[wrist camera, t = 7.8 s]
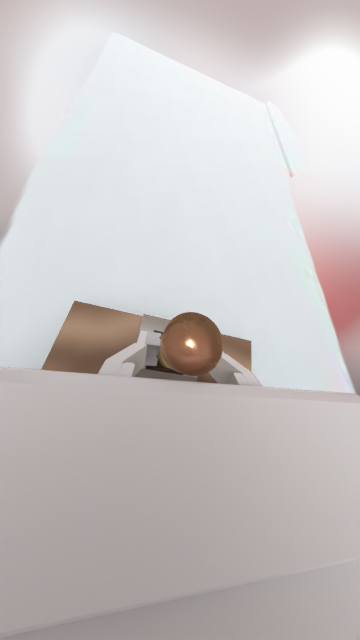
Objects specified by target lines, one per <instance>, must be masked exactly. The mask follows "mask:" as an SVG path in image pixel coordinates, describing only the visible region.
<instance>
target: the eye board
mask: <svg viewBox="0 0 360 640" xmlns="http://www.w3.org/2000/svg"><path fill="white" fill-rule="evenodd" d="M170 321H171V320H167V319H162V318H158V317H154V316H149V315H145V314H144V316H139V315H135V314H131V313H126V312H122V311H117V310H113V309H109V308H104V307H100V306H96V305H91V304H87V303H82V302H78V301H74V303H73V305H72V307H71V309H70V311H69V313H68V316H67V318H66V320H65V322H64V324H63V326H62V328H61V330H60V332H59V334H58V336H57V338H56V340H55V342H54V345H53V347H52V349H51V351H50V353H49V355H48V357H47V359H46V361H45V363H44V365H43V367H42V369H41V370H49V371H62V372H76V373H89V374H98V373H99V371H100V369H101V367H102V366H103V364H104V362H105V360H106V359H108V358H110V357H111V356H113V355H115V354H117V353H118V352H120V351H122V350H123V349H125V348H127V347H129V346H130V345H132V344H134V343H137V341H138V338H139V335H140V332H141V330H143V331H150V332H156V333H161V338H162V335H163V332H164V330H165V328H166V326H167V325H168V323H169V322H170ZM221 336H222V340H223V352H224V354H227V355H229V356H230V357H231V358H233V359H234V360H236V361H237V362H238V363H240V364H241V365H242V366H244V367H245V368H247V369H248V370H249V371H251V341H249V340H244V339H240V338H235V337H231V336H227V335H222V334H221ZM134 377H141V378H154V379H167V380H180V381H193V382H207V383H217V381H216V380H215V379H214V378H213V377H212V376H211V374H210V373H209V372H208V373H207V374H204V375H201V376H188V375H185V374H182V373H179V372H177V371H175V370H173V369H169V368H166V367H163V366H161V365H160V364H159V363H158V362H157V366H150V365H144V367H143V368H142V369H141V370H140V371H139V372H138V373H137V374H136V375H135V376H134Z"/></svg>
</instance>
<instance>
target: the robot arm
mask: <svg viewBox="0 0 360 640" xmlns="http://www.w3.org/2000/svg"><path fill="white" fill-rule="evenodd" d="M160 342H161V333H156V332H150V331H143V330H141V332H140V335H139V338H138V341H137V343H134V344H132V345H130V346H129V347H127V348H125V349H123V350H122V351H120V352H118V353H117V354H115V355H113V356H111V357H110V358H108V359H106V360H105V362H104V364H103V366H102V367H101V369H100V371H99V373H98V374H89V373H76V372H62V371H49V370H36V369H23V368H10V367H0V640H360V396H359V395H357V394H351V393H339V392H325V391H312V390H299V389H286V388H273V387H263V386H262V385H261V383H260V382H259V380H258V379H257V377H256V376H255V375H254V374H253V373H252V372H251V371H249V370H248V369H247V368H245V367H244V366H242V365H241V364H240V363H238V362H237V361H236V360H234V359H233V358H231V357H230V356H229V355H227V354H224V352H222V356H221V359H220V361H219V363H218V364H217V366H216V367H215V368H214V369H213V370H211V371H210V372H209V373H210V374H211V376H212V377H213V378H214V379H215V380H216V381H217V383H207V382H193V381H180V380H167V379H154V378H141V377H134V376H135V375H136V374H137V373H138V372H139V371H140V370H141V369H142V368H143V367H144V365H150V366H157V361H158V354H159V350H160Z"/></svg>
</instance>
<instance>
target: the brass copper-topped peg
mask: <svg viewBox="0 0 360 640" xmlns="http://www.w3.org/2000/svg"><path fill="white" fill-rule="evenodd" d="M222 352H223V340H222V336H221V333H220V331H219V329H218V328H217V326H216V325H215V324H214V322H213V321H212V320H210V319H209V318H208V317H206V316H204V315H202V314H199V313H194V312H187V313H182V314H180V315H178V316H176V317H174V318H173V319H172V320H171V321H170V322H169V323H168V325H167V326H166V328H165V330H164V332H163V335H162V338H161V342H160V350H159V354H158V361H157V362H158V363H159V364H160V365H161V366H163V367H166V368H169V369H173V370H175V371H177V372H179V373H182V374H185V375H188V376H201V375H204V374H207V373H208V372H210V371H211V370H213V369H214V368H215V367H216V366H217V364H218V363H219V361H220V359H221V356H222Z"/></svg>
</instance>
